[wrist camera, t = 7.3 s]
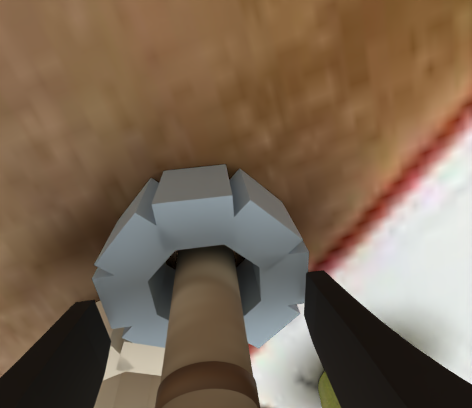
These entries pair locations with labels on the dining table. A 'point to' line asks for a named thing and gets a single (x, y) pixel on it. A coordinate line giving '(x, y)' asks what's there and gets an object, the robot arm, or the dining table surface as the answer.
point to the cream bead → (129, 372)
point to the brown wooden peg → (206, 336)
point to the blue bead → (194, 236)
